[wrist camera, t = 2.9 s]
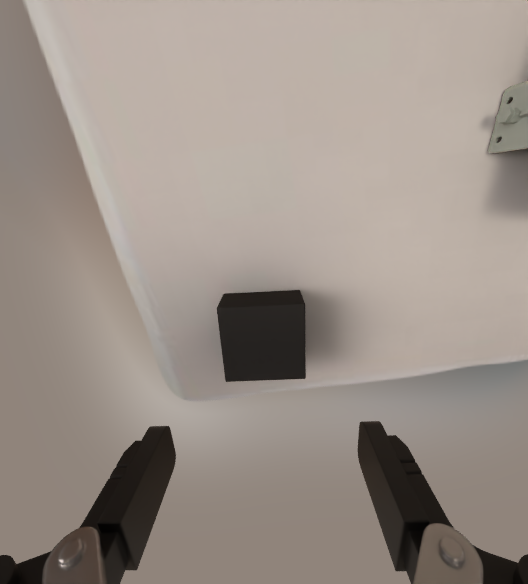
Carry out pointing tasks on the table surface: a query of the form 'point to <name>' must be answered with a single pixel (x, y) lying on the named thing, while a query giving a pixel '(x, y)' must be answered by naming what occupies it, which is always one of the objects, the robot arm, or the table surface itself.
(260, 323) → the small black block
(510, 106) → the metal bracket
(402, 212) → the table surface
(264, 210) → the table surface
